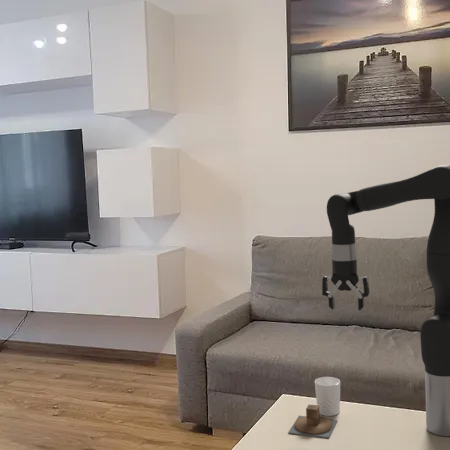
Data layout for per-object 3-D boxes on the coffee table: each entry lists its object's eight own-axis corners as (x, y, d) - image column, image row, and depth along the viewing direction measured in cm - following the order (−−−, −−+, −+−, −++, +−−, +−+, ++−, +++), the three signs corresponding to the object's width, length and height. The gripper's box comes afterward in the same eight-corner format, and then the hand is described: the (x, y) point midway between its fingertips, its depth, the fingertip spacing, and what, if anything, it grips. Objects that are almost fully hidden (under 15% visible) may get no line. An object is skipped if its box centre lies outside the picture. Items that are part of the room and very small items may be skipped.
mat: (337, 421, 177) (337, 419, 177) (329, 438, 166) (329, 437, 166) (299, 416, 181) (298, 415, 181) (288, 433, 170) (288, 432, 170)
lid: (335, 420, 176) (335, 401, 176) (327, 436, 166) (327, 416, 166) (300, 416, 181) (299, 398, 180) (290, 431, 171) (289, 412, 170)
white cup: (343, 416, 180) (342, 385, 179) (317, 417, 180) (316, 386, 179) (339, 406, 188) (337, 376, 187) (314, 407, 188) (313, 377, 187)
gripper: (369, 256, 182) (371, 307, 183) (324, 256, 187) (326, 305, 188) (365, 260, 175) (367, 313, 176) (318, 259, 180) (321, 311, 182)
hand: (346, 309), depth 182 cm, fingers open, 8 cm apart
